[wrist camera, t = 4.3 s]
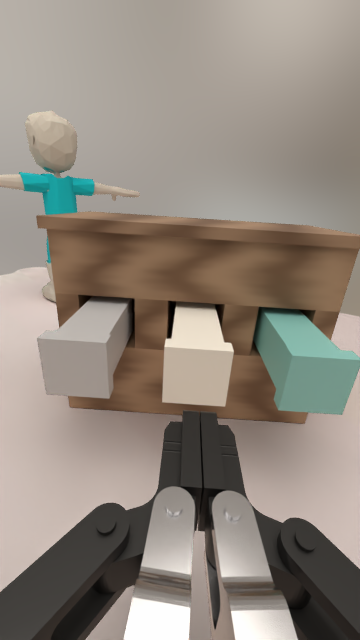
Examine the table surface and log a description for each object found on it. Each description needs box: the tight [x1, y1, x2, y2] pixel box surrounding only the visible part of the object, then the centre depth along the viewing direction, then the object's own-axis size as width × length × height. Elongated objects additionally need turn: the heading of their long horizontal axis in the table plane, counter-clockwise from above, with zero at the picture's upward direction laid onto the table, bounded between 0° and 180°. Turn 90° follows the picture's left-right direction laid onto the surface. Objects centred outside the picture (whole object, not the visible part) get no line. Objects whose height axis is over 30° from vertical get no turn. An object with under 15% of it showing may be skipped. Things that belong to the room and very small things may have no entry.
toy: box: [0, 111, 140, 302], centre depth 48 cm, size 30×9×30 cm, turn 126°
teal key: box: [253, 307, 360, 415], centre depth 20 cm, size 4×9×4 cm, turn 178°
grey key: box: [37, 296, 132, 399], centre depth 20 cm, size 4×9×4 cm, turn 178°
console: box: [37, 212, 360, 424], centre depth 27 cm, size 23×11×17 cm, turn 88°
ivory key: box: [162, 301, 234, 407], centre depth 20 cm, size 4×9×4 cm, turn 178°
